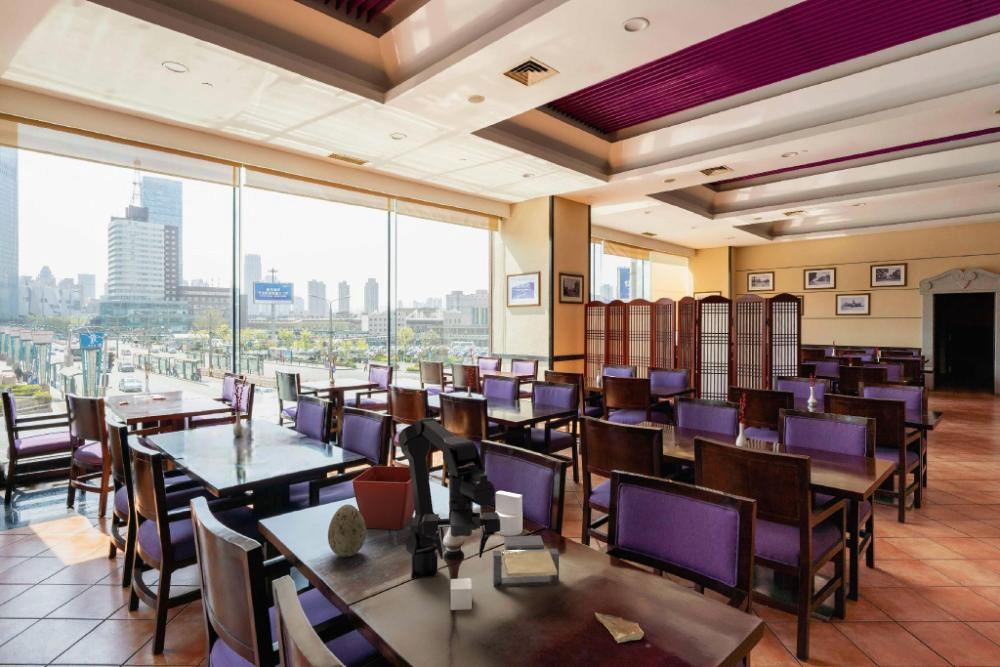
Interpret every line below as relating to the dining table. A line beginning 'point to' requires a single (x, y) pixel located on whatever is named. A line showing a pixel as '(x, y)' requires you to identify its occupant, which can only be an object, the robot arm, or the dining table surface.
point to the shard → (620, 627)
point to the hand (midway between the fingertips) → (461, 557)
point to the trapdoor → (527, 557)
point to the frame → (523, 580)
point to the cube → (461, 594)
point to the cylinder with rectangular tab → (509, 513)
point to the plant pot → (385, 497)
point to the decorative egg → (346, 531)
